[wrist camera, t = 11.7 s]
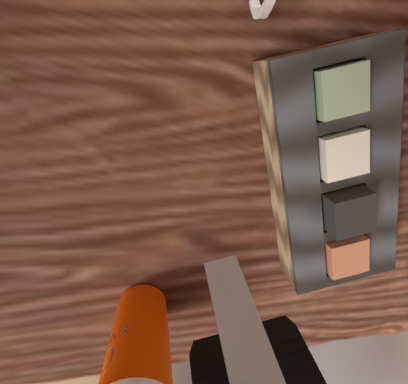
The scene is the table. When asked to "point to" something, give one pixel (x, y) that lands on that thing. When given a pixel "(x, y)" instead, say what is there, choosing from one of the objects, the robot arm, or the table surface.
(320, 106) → the key sage
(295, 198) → the console
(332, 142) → the key ivory
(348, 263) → the key terracotta
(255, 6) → the mug
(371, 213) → the key dark gray
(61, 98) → the table surface
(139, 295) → the shaker bottle
